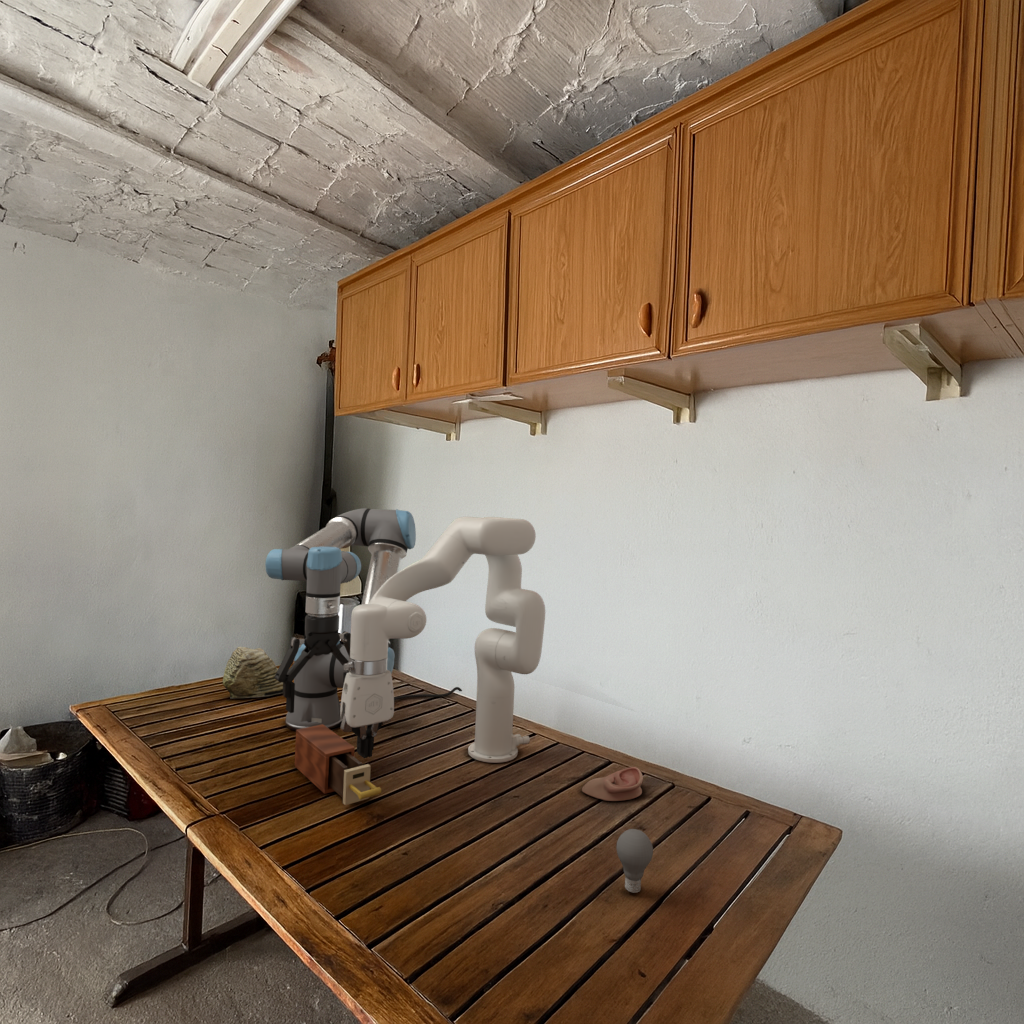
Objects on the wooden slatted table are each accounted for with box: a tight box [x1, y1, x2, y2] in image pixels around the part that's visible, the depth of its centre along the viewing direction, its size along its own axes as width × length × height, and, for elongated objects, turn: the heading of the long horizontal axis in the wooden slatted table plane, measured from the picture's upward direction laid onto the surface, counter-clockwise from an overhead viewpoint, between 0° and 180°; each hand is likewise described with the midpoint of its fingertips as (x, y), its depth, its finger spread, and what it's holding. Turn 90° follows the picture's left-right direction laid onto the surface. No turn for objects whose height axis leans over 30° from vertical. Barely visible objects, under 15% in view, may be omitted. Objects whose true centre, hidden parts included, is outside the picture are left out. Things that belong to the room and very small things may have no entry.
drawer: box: [328, 752, 382, 806], centre depth 134 cm, size 22×5×7 cm, turn 40°
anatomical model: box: [581, 766, 644, 802], centre depth 142 cm, size 13×4×12 cm
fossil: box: [222, 646, 283, 699], centre depth 198 cm, size 9×18×15 cm, turn 132°
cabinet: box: [294, 724, 356, 795], centre depth 144 cm, size 17×7×9 cm, turn 40°
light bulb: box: [615, 828, 654, 894], centre depth 106 cm, size 6×6×10 cm
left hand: (319, 705), depth 146 cm, fingers open, 13 cm apart
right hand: (364, 755), depth 129 cm, fingers closed
